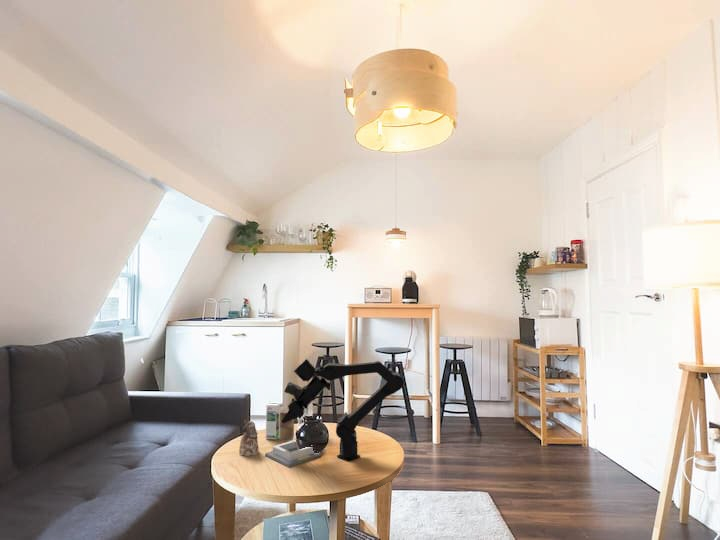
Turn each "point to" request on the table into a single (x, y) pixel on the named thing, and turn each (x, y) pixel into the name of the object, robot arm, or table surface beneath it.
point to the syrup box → (273, 420)
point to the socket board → (291, 454)
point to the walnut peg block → (286, 427)
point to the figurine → (249, 440)
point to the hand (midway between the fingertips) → (283, 420)
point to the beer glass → (306, 413)
